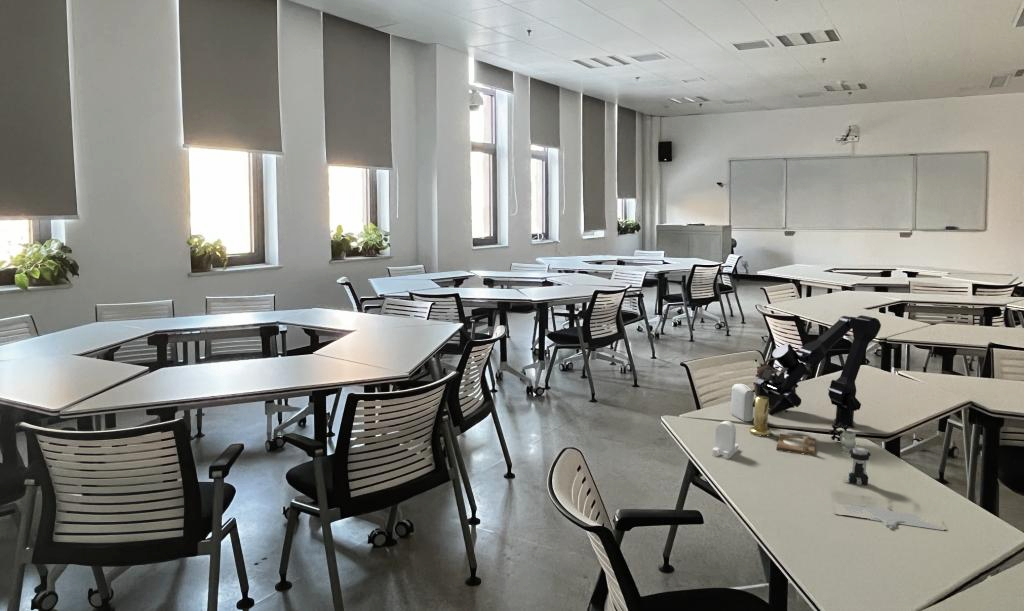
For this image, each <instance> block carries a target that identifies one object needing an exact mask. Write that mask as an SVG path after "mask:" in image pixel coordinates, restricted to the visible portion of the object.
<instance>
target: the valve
mask: <svg viewBox="0 0 1024 611" xmlns="http://www.w3.org/2000/svg"><path fill="white" fill-rule="evenodd" d="M842 425H843V424H842V423H839V424H838V425H834V424H832V425H831V428H832V430H831V429H830V430H829V431H828V433H829V434H830V435H832V436H830V439H831V440H833V441H835V440H836V441H837V442H838V441H841V443H840V444H841V447H840V449H841V450H840V451H841V452H842V453H843V452H844V453H843V454H846V453H849V454H848V455H851V454H850V450H852V449H853V448H854V447H856V435H857V434H856V433H855V431H852V430H849V426H847V425H845V426H842ZM837 429H839V430H837ZM841 429H843V430H841ZM835 433H836V434H835Z"/></svg>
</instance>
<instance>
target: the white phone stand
mask: <svg viewBox="0 0 1024 611" xmlns="http://www.w3.org/2000/svg"><path fill="white" fill-rule="evenodd" d="M736 436H737V428H736V425H735V424H734V423H733V422H732V421H731V420H724V421H721V423H719V424H718V425H717V426H716V428H715V437H714V438H715V439H714V440H715V441H714V447H713V448H712V450H711V456H713V457H718V456H719V455H721V456H722V459H727V460H728V459H730V458H732V456H733V455H734V454H735V453H737V452H738V451H739V444H738V443H736V442H737V441H736V438H737V437H736Z"/></svg>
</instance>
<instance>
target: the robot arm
mask: <svg viewBox="0 0 1024 611" xmlns="http://www.w3.org/2000/svg"><path fill="white" fill-rule="evenodd" d="M881 326H882V324H881V322H880V320H879V319H878V318H875V317H872V316H868V315H859V316H857V317H856V316H855V317H854V316H849V315H848V316H847V315H843V316H839V318H838V321H836V322H835V323H834V324H833V325H832V326H831V327H829V328H828V329H827V330H826V331H824V333H822V335H820V336H818V338H817V339H815V340H813V341H810V342H807V343H806V344H804V345H803V346H800V348H799V349H794V348H793V345H792V344H790V343H788V342H785V343H784V344H783V345H780V346H778V347H776V348H774V350H773V351H772V357H773V358H775V359H776V360H775V361H776V362H777V363H778V364H779V365H780V366H781V367H782V368H787V369H786V370H785V371H784V372H783V373H782V372H780V371H781V370H779V371H778V372H777V373H775V372H773V371H770V370H767V369H765V371H764V373H763V376H762V378H766V379H768V380H770V381H769V382H770V383H771V384H772V385H771V384H770V383H769V382H768V381H767V380H765V379H762V378H758V377H757V378H758V379H757V378H756V380H755V382H754V385H755V384H756V387H757V394H755V397H756V396H766V397H768V398H769V397H770V396H769V395H771V394H773V393H775V394H778V395H779V400H778V401H777V403H776V404H775V405H774V407H773V408H772V409H770V411H768V415H770V416H773V415H776V414H778V413H781V412H782V411H785V410H789V409H792V408H793V409H794V408H799V406H801V405H802V399H801V397H800V396H799V395H798V394H797V392H796V393H795V392H794V391H792V389H793V388H794V387H795V389H797V388H798V387H799V384H798V383H799V382H800V381H801V380H802V379H803V378H804V376H805V375H806V376H808V377H812V375H813V373H812V368H811V367H809V366H813V367H816V366H818V365H819V364H821V362H822V361H823V360H824V359H825V358H826V355H827V352H828V351H829V349H831V348H832V347H833V346H834V345H835V344H836V343H837V342H838V341H839V340H841V339H842V338H843V337H844V336H845V335H846V334H848V333H849V332H850V331H852V336H853V341H852V342H851V345H850V348H849V351H848V354H847V357H846V360H845V363H844V365H843V366H842V371H841V373H840V376H839V377H838V378H837V379H836V380H835V379H832V380H831V381H830V385H829V387H828V389H827V391H828V396H829V399H830V402H831V405H834V406H836V409H835V410H836V411H835V418H834V419H833V420H834V421H833V425H835V426H838V424H839V423H842V424H843V427H844V426H845V425H847V426H848V427H849V426H853V427H852V428H855V420H854V415H855V412H857V411H860V409H861V406H862V403H861V402H860V401H859V400H858V399H857V397H856V395H857V386H856V380H857V377H858V374H859V371H860V369H861V366H862V364H863V360H864V358H865V355H866V352H867V350H868V347H869V344H870V343H871V342H872V341H873V340H874V339H876V338H877V336H878V334H879V332H880V330H881V329H882V328H881ZM807 365H809V366H807ZM775 390H776V391H775ZM752 406H753V408H755V399H754V402H753V405H752Z"/></svg>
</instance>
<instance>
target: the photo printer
mask: <svg viewBox="0 0 1024 611" xmlns="http://www.w3.org/2000/svg"><path fill="white" fill-rule="evenodd" d="M754 400H755V392H754V391H753V390H752V389H751V388H750V387H749V386H748V385H746V384H744V383H735V384H733V385H732V387H731V401H730V413H731V415H732V416H734V417H735V418H738V419H740V420H741V421H744V422H752V421H754V407H753V406H752V405H753V402H754Z"/></svg>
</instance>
